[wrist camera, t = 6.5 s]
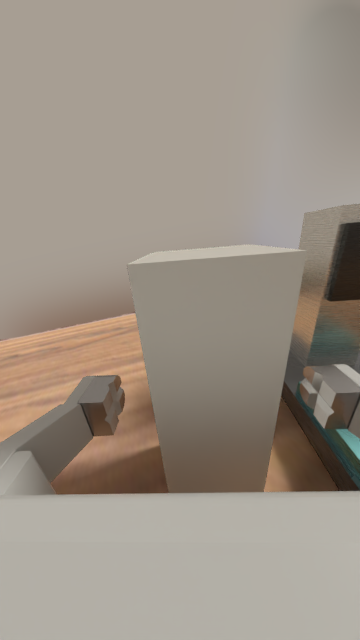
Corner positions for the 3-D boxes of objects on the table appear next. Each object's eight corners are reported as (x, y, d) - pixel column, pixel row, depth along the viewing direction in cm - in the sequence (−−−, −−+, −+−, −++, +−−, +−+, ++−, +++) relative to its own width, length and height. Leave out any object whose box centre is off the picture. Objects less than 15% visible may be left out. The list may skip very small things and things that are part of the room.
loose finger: (177, 434, 13) (155, 251, 8) (235, 432, 13) (246, 244, 8) (173, 521, 9) (126, 264, 4) (258, 521, 9) (307, 250, 4)
